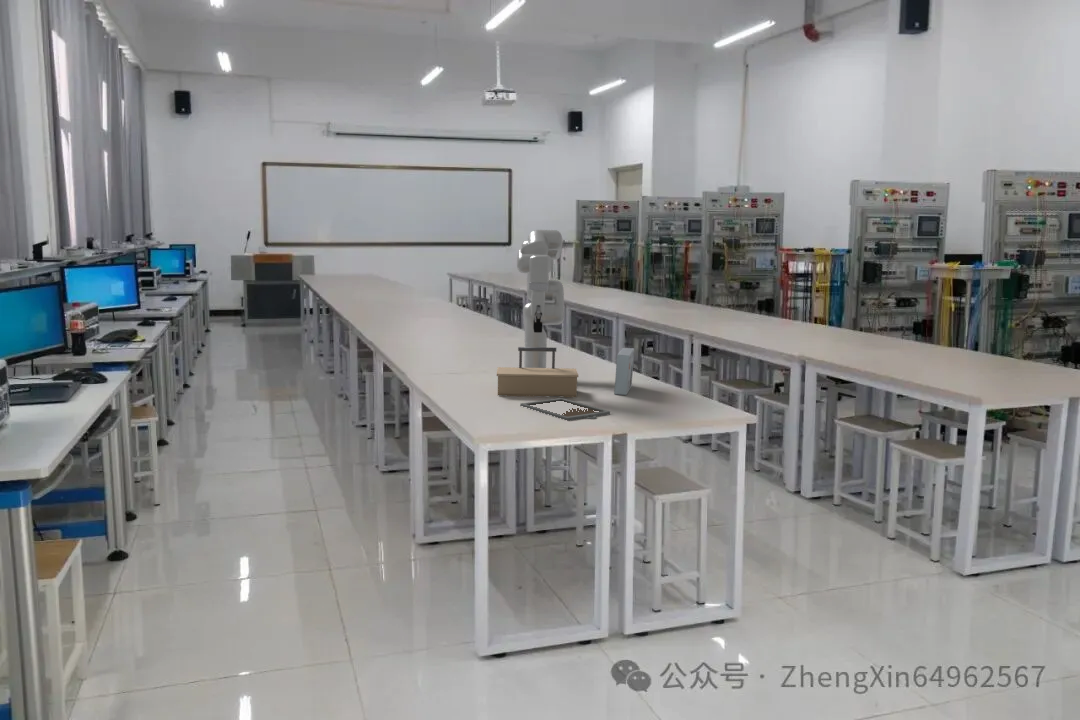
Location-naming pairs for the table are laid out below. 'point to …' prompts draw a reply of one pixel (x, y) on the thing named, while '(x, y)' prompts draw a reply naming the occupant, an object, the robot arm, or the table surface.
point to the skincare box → (624, 371)
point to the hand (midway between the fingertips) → (537, 331)
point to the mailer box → (537, 386)
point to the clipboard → (569, 415)
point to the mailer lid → (537, 371)
